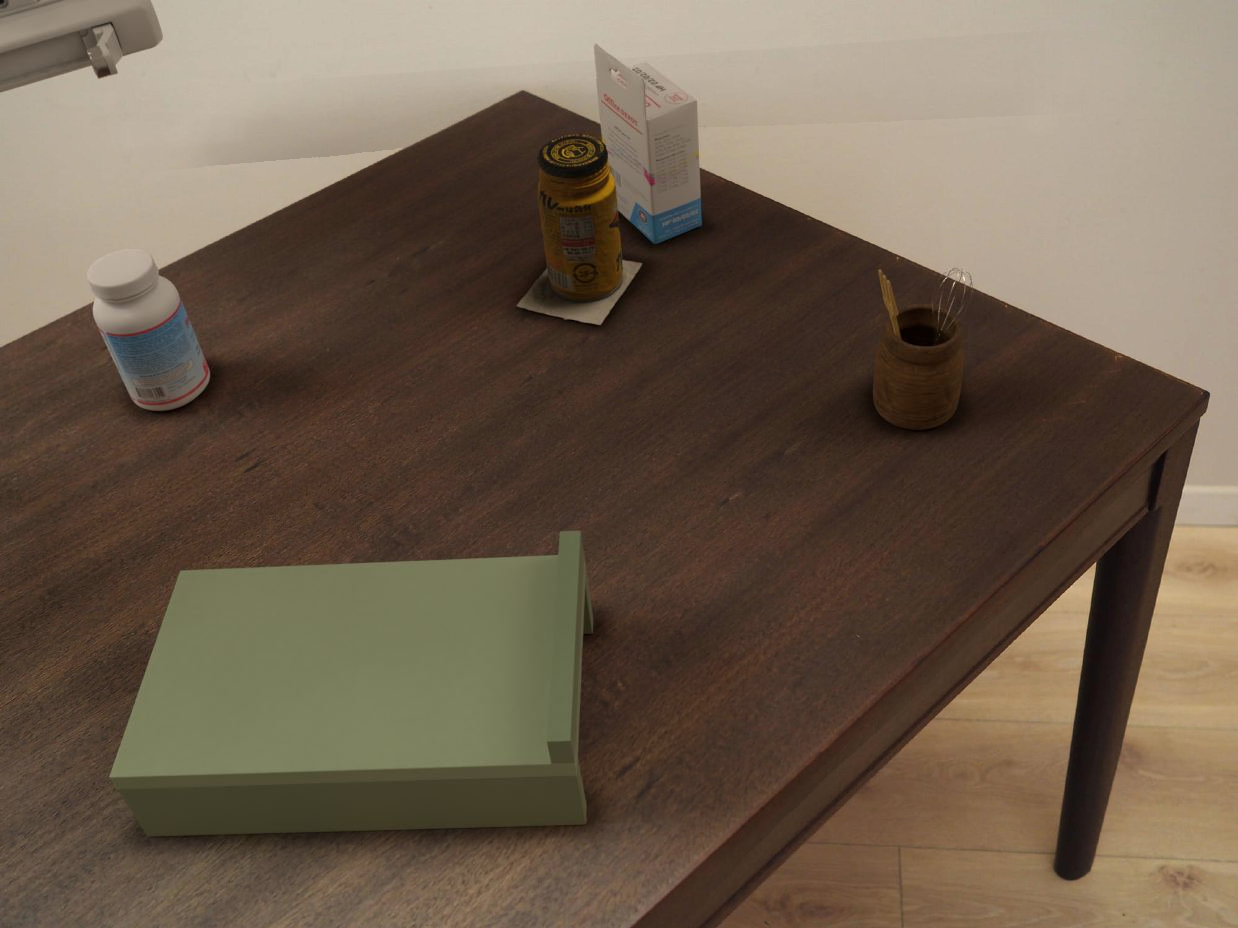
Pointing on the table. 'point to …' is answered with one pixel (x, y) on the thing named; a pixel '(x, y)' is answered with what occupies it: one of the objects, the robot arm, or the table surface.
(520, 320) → the table surface
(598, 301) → the condiment
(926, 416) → the utensil holder
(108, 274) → the pill bottle
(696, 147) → the ink box
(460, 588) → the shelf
